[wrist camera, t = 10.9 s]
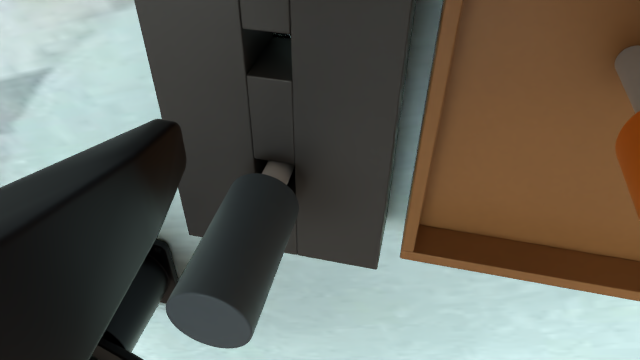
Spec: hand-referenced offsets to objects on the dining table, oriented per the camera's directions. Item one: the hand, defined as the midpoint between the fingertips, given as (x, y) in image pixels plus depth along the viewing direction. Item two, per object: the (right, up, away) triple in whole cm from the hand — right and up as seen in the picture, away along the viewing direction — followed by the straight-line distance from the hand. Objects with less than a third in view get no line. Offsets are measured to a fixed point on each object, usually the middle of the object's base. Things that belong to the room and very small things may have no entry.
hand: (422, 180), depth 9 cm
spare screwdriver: (-3, +2, +16) cm, 16 cm away
